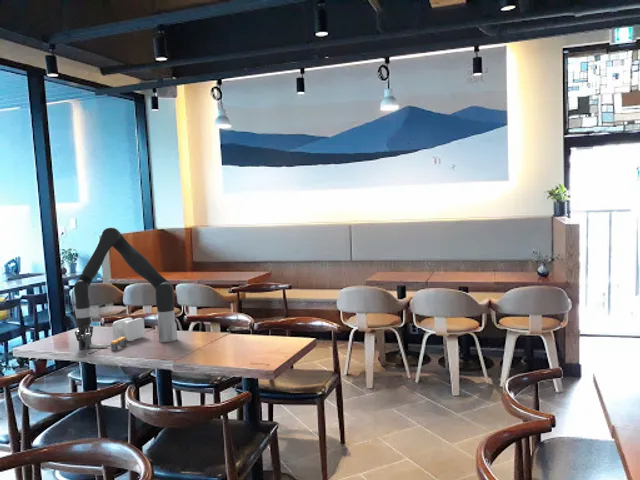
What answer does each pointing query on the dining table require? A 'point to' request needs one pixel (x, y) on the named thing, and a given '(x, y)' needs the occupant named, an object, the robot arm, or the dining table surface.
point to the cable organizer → (128, 329)
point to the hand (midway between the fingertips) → (85, 346)
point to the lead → (89, 345)
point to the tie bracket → (115, 343)
